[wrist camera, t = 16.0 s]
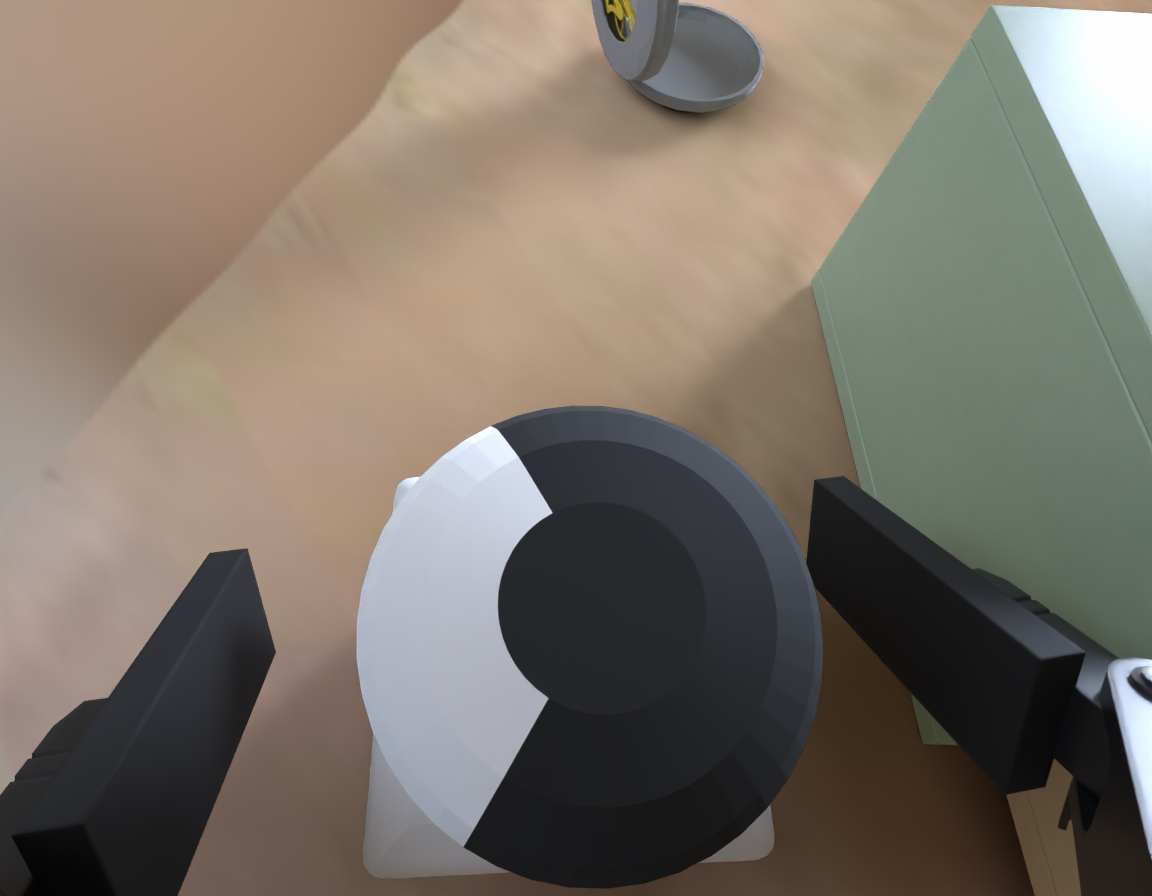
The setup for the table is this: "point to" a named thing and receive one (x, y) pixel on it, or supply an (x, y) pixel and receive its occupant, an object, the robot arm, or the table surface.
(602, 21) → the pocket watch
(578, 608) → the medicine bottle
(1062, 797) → the drawer
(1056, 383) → the cabinet
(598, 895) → the table surface
